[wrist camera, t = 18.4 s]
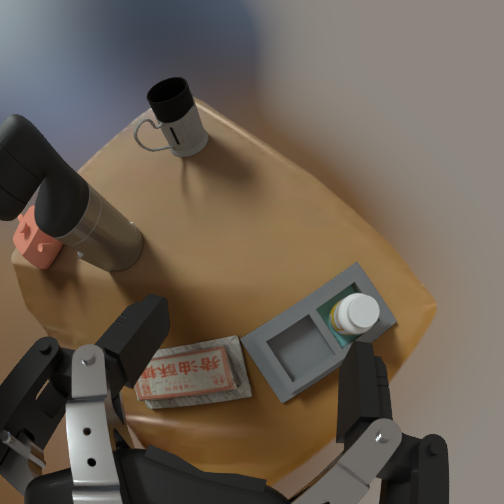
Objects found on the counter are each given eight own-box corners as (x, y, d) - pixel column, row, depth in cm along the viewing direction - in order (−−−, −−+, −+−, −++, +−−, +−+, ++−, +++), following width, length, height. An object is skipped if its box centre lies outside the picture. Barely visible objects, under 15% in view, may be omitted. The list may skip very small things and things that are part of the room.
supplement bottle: (367, 311, 39) (392, 302, 30) (350, 341, 38) (372, 341, 28) (339, 294, 40) (357, 280, 31) (321, 324, 39) (335, 319, 30)
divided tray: (281, 402, 37) (282, 407, 33) (240, 338, 40) (237, 339, 37) (395, 321, 39) (403, 320, 36) (355, 262, 42) (361, 257, 39)
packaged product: (137, 413, 33) (123, 353, 36) (150, 407, 38) (137, 352, 41) (250, 401, 33) (234, 334, 36) (253, 394, 38) (238, 334, 41)
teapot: (50, 208, 52) (24, 189, 42) (85, 242, 48) (53, 223, 38) (28, 247, 50) (0, 232, 40) (59, 287, 46) (25, 275, 36)
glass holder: (216, 133, 53) (201, 78, 39) (174, 183, 50) (144, 133, 36) (185, 122, 55) (166, 72, 41) (145, 168, 52) (113, 122, 38)
